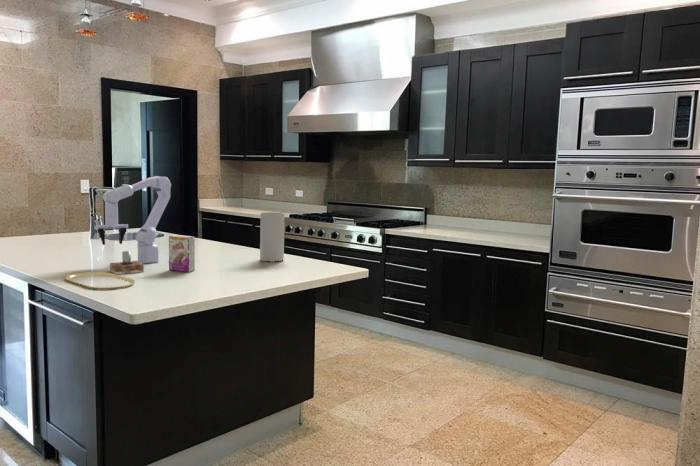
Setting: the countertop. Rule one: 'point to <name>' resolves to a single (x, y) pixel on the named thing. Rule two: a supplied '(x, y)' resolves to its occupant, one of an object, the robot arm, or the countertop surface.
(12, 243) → the countertop surface
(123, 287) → the yellow rubber band
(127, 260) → the pin
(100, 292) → the countertop surface
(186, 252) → the candy bar box
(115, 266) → the socket block
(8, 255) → the countertop surface
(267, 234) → the cylinder vase
